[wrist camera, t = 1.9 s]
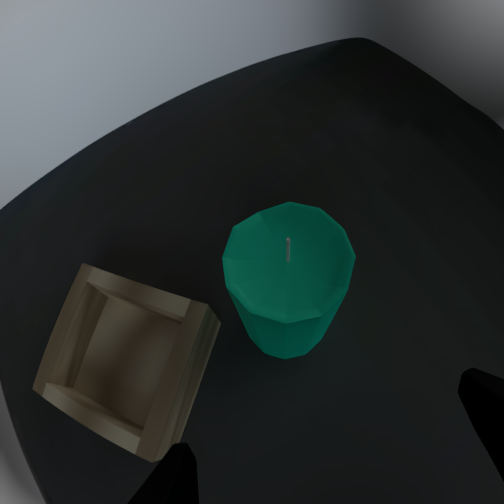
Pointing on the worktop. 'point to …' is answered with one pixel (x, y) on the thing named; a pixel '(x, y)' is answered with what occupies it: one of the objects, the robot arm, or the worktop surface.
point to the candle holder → (127, 360)
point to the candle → (287, 276)
